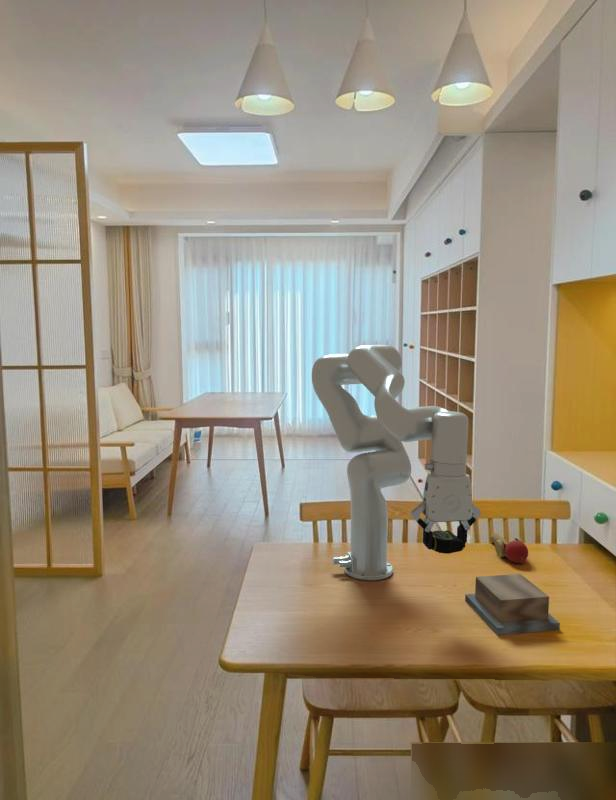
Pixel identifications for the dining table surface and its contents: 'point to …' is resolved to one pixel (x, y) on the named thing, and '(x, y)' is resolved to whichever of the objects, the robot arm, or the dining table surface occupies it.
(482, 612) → the plinth
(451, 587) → the dining table surface
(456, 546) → the tape measure
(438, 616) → the dining table surface
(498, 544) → the kendama
